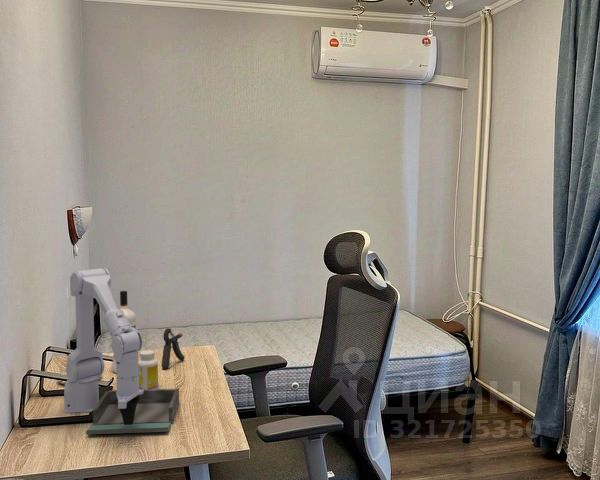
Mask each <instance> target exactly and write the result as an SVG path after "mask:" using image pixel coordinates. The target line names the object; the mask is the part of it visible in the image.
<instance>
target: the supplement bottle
mask: <svg viewBox="0 0 600 480" xmlns="http://www.w3.org/2000/svg"><path fill="white" fill-rule="evenodd" d="M139 357H140V359H138V371H139V389H140V390H149V389H159V362H158V359H157V358H155V351H154V350H151V349H149V350H142V351H140V353H139Z"/></svg>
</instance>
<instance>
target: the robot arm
mask: <svg viewBox="0 0 600 480" xmlns="http://www.w3.org/2000/svg"><path fill="white" fill-rule="evenodd" d="M111 277H112V276H111V274H110V271H109V270H108V269H107V268H106V267H101V268H92V269H84V270H83V269H82V270H74V271H73V272H72V273H71V275H70V276H69V287H70V296H71V297H75V326H76V330H75V331H76V348H75V349H74V350H73V351H72V352H70V353H69V354H68V355H67V360H66V365H65V372H66V374H67V377H68V379H69V380H67V381H66V384H64V388H63V395H64V396H63V397H64V398H63V399H64V401H63V402H64V410H63V413H65V414H66V413H67V414H68V413H70V414H71V413H93V412H92V411H93V409H94V408H95V406H96V405H97V403H98V402H99V401H100V396H99V395H100V394H99V389H100V388H99V380H100V379H101V377H100V375H101V374H102V375H103V373H104V371H105V362H104V359H103V353H102V351H101V350H99V349H98V348H96V347H95V321H94V320H95V319H94V317H95V316H94V298H95V300H96V302H97V304H98V305H99V306H100V308H101V310H102V312H103V313H104V314H105V315H104V317H103V322H104V324H105V327H106V329H107V331H108V333H109V335H110V337H111V339H112V340H111V345H110V346H111V349H112V351H113V352H114V359H115V360H116V373H115V374H116V390H117V392H116V396H117V401H116V405H117V407H118V409H119V410H120V412H121V415H122V418H123V422H124V425H132V424H133V421H134V416H135V410H136V406H137V403H138V400H139V398H140V395H141V394H143V390H140V389H139V371H138V361H139V351H141V349H142V347H143V338H142V335H141V333H140V331H139V330H138V329H137V328H136V329H135V328H134V327H131V325H130V323H129V321H128V319H127V317H126V315H125V314H124V312H123V311H122V310H120V308H119V309H118V306H117V303H116V302H115V299H114V296H113V293H112V291H111V286H112V285H111V284H112V278H111Z"/></svg>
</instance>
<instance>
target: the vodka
mask: <svg viewBox="0 0 600 480" xmlns="http://www.w3.org/2000/svg"><path fill="white" fill-rule="evenodd" d="M119 302H120V303H119V304H120V306H119V309H120V310H122V311H123V312H124V314H125V315H126V317H127V319H128V321H129V323H130V325H131V327H134V328H135V329H136V330H137V328H136V326H137V315H136V313H135V312H134V311H133V310H131V309H129V306H128V291H127V290H120V291H119ZM112 354H113V355H112V365H111V370H112V372H113V373H114V374H117V373H116V360H115V359H114V352H113V353H112Z"/></svg>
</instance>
